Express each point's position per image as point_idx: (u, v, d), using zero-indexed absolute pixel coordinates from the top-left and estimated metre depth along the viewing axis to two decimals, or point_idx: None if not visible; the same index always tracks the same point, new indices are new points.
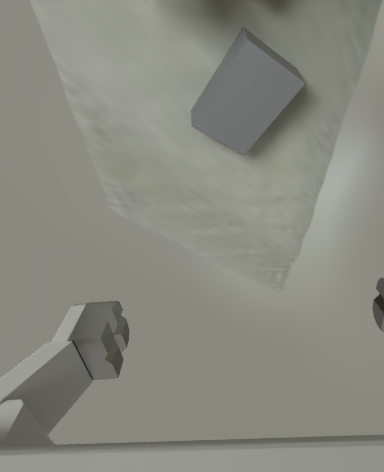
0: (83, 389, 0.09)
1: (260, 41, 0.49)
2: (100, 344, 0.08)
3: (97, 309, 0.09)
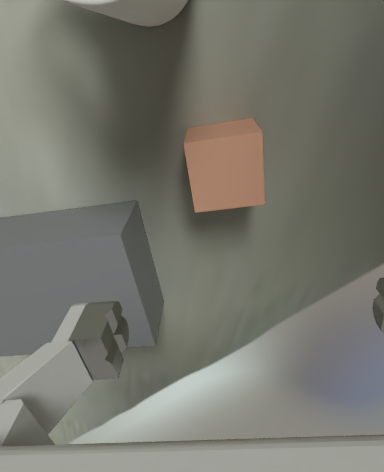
0: (83, 389, 0.09)
1: (144, 237, 0.28)
2: (100, 344, 0.08)
3: (97, 309, 0.09)
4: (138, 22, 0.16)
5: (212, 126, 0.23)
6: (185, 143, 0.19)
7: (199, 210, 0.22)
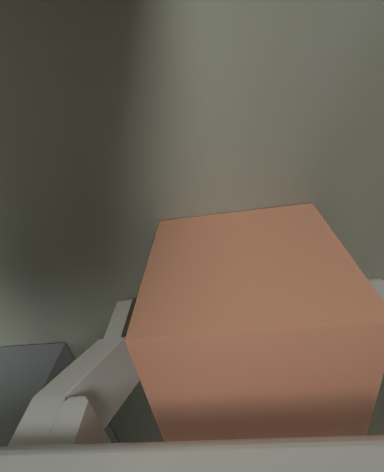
0: (133, 386, 0.09)
1: None
2: None
3: None
4: None
5: (217, 229, 0.09)
6: (131, 338, 0.06)
7: None
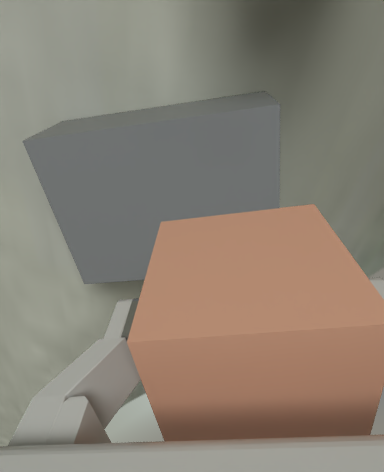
0: (133, 386, 0.09)
1: None
2: None
3: None
4: None
5: (218, 230, 0.09)
6: (134, 341, 0.06)
7: None
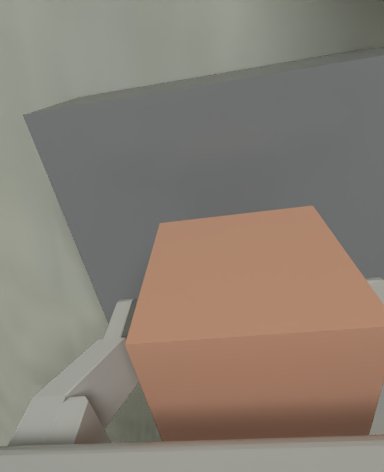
0: (133, 386, 0.09)
1: None
2: None
3: None
4: None
5: (217, 231, 0.09)
6: (132, 343, 0.06)
7: None
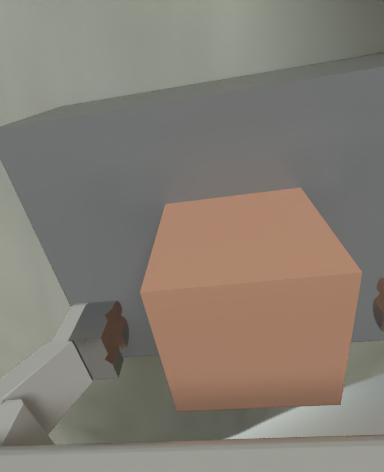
0: (83, 389, 0.09)
1: None
2: (100, 344, 0.08)
3: (97, 309, 0.09)
4: None
5: (216, 209, 0.10)
6: (145, 291, 0.07)
7: (187, 408, 0.09)
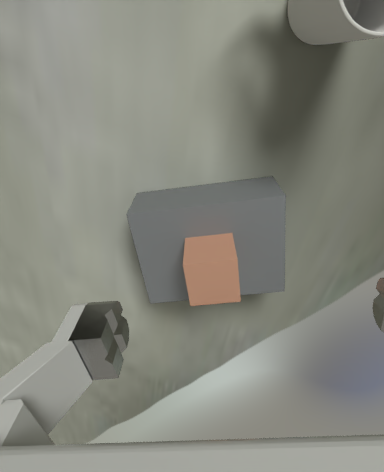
0: (83, 389, 0.09)
1: None
2: (100, 344, 0.08)
3: (97, 309, 0.09)
4: None
5: (203, 240, 0.31)
6: (184, 264, 0.28)
7: (193, 304, 0.30)
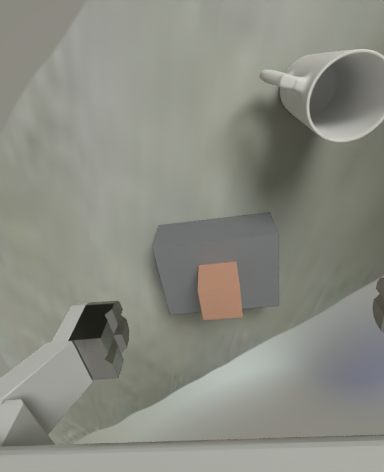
0: (83, 389, 0.09)
1: None
2: (100, 344, 0.08)
3: (97, 309, 0.09)
4: None
5: (213, 268, 0.39)
6: (198, 290, 0.36)
7: (205, 319, 0.38)
